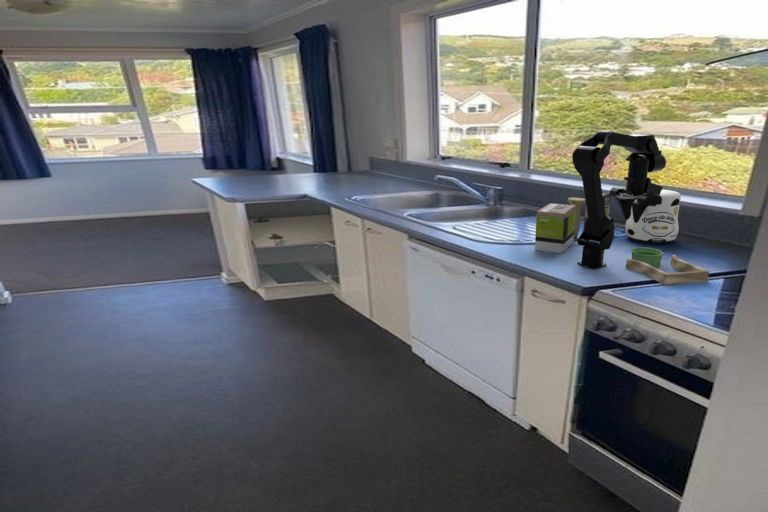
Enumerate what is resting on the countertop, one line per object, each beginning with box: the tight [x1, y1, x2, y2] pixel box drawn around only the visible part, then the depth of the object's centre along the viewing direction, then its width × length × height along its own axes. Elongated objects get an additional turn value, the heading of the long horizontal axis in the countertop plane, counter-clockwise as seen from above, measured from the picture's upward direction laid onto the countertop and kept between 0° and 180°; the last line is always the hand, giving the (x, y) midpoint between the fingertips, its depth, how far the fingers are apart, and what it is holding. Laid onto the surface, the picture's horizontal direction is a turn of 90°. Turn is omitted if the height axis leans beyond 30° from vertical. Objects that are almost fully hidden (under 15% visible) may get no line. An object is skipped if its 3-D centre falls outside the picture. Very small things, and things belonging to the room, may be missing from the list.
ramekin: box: [631, 247, 664, 268], centre depth 153 cm, size 9×9×4 cm
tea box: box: [534, 202, 576, 254], centre depth 172 cm, size 15×10×15 cm
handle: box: [567, 197, 586, 238], centre depth 184 cm, size 5×6×15 cm
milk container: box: [625, 189, 681, 244], centre depth 176 cm, size 17×17×18 cm
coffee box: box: [582, 191, 612, 232], centre depth 186 cm, size 9×6×16 cm
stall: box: [625, 254, 710, 286], centre depth 144 cm, size 16×17×3 cm
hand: (631, 221), depth 159 cm, fingers open, 4 cm apart
